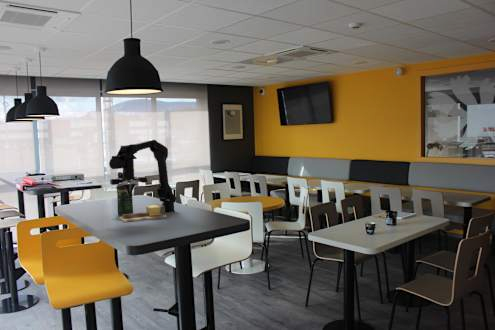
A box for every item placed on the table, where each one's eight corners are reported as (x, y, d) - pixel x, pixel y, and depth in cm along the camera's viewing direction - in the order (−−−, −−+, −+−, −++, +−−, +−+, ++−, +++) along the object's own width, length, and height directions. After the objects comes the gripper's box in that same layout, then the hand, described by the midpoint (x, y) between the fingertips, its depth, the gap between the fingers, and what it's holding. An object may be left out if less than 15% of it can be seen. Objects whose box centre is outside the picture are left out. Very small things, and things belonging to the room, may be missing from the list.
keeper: (156, 212, 229) (156, 205, 229) (160, 214, 222) (160, 206, 222) (146, 214, 226) (146, 206, 226) (150, 216, 219) (149, 208, 219)
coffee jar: (135, 214, 234) (133, 183, 233) (122, 216, 229) (120, 184, 228) (128, 212, 241) (127, 182, 240) (116, 214, 236) (114, 183, 235)
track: (160, 214, 232) (159, 203, 232) (166, 217, 222) (166, 206, 221) (119, 218, 221) (119, 208, 221) (124, 222, 211) (123, 211, 210)
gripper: (141, 166, 225) (143, 193, 226) (107, 168, 216) (108, 196, 217) (147, 167, 215) (148, 195, 216) (111, 169, 206) (112, 198, 207)
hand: (129, 196), depth 214 cm, fingers closed
